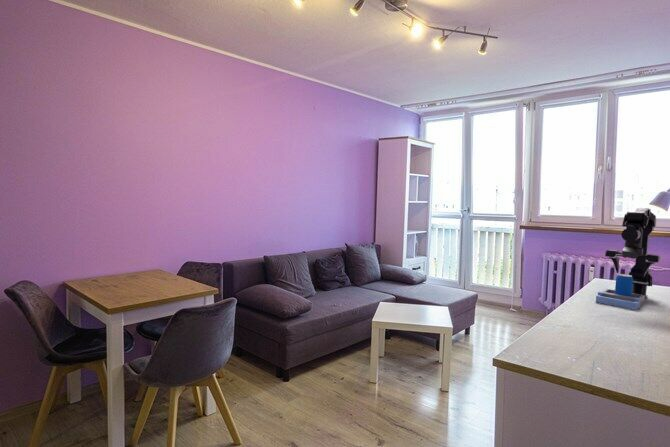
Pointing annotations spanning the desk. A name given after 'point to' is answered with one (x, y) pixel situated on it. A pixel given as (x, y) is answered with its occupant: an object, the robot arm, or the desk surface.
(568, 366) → the desk surface
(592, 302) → the desk surface
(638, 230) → the robot arm
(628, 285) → the beverage can
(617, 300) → the slot holder
